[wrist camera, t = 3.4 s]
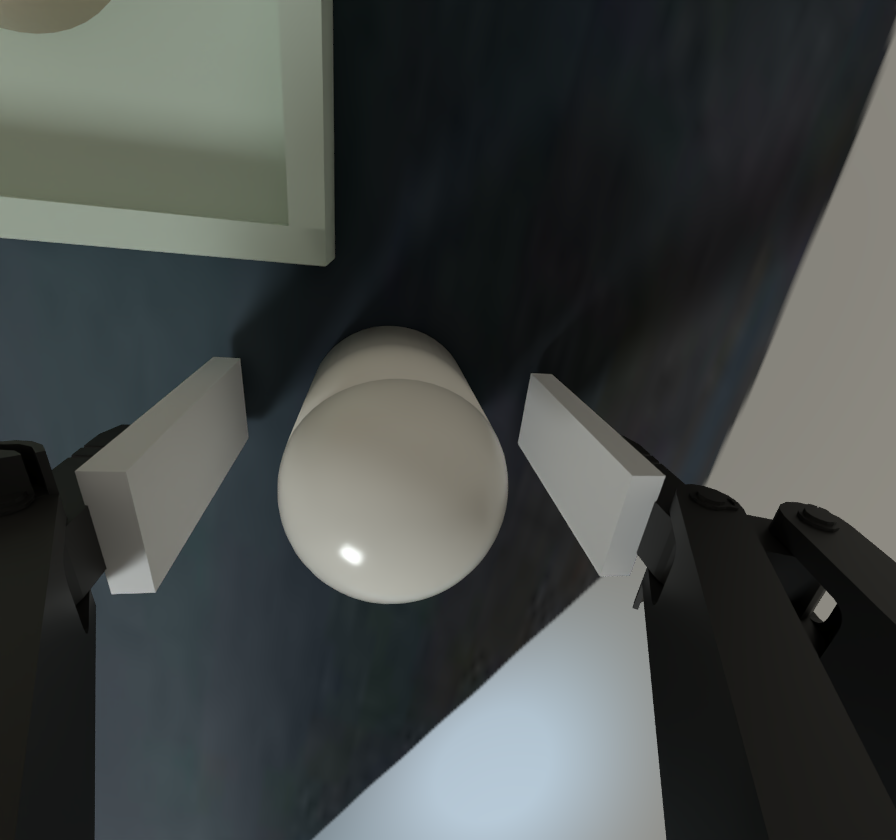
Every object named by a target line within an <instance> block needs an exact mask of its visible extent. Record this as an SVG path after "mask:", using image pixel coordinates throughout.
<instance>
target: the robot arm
mask: <svg viewBox="0 0 896 840" xmlns="http://www.w3.org/2000/svg"><path fill="white" fill-rule="evenodd" d="M247 439H248V428H247V418H246V409H245V399H244V389H243V380H242V370H241V360H240V358H225V357H213V358H212V359H210V360H209V361H208V362H207V363H205V364H204V365H203V366H202V367H201V368H199V369H198V370H197V371H196V372H195V373H193V374H192V375H191V376H190V377H189V378H187V379H186V380H185V381H184V382H182V383H181V384H180V385H179V386H178V387H176V388H175V389H174V390H173V391H172V392H170V393H169V394H168V395H167V396H165V397H164V398H163V399H162V400H161V401H159V402H158V403H157V404H156V405H155V406H153V407H152V408H151V409H150V410H148V411H147V412H146V413H145V414H144V415H142V416H141V417H140V418H139V419H138V420H136V421H135V422H134V423H133V424H131V425H119V426H117V427H115V428H112V429H110V430H108V431H105V432H103V433H101V434H99V435H97V436H96V437H95V438H93V439H92V440H91V441H89V442H88V443H87V444H86V445H84V448H80V449H79V450H78V451H76V452H75V453H74V454H72V457H71V458H67V459H66V460H65V461H63V462H62V463H61V464H59V465H58V466H57V467H55V468H54V469H53V470H51V467H50V464H49V461H48V458H47V455H46V452H45V449H44V447H43V445H41V444H38V443H36V442H33V441H19V440H13V441H1V442H0V840H94V833H95V658H96V605H95V602H94V598H93V595H92V592H91V588H92V586H93V585H94V584H95V583H96V581H97V580H98V579H99V578H100V576H101V575H102V574H103V572H104V571H105V574H106V577H107V580H108V584H109V587H110V590H111V594H128V593H155V592H156V591H157V589H158V587H159V586H160V584H161V582H162V581H163V579H164V577H165V576H166V574H167V572H168V571H169V569H170V567H171V566H172V564H173V562H174V561H175V559H176V558H177V556H178V554H179V553H180V551H181V549H182V548H183V546H184V544H185V543H186V541H187V539H188V538H189V536H190V534H191V533H192V531H193V529H194V528H195V526H196V524H197V523H198V521H199V519H200V518H201V516H202V514H203V513H204V511H205V509H206V508H207V506H208V504H209V503H210V501H211V499H212V498H213V496H214V494H215V493H216V491H217V489H218V488H219V486H220V484H221V483H222V481H223V479H224V478H225V476H226V474H227V473H228V471H229V469H230V468H231V466H232V464H233V463H234V461H235V459H236V458H237V456H238V454H239V453H240V451H241V449H242V448H243V446H244V444H245V443H246V441H247ZM518 444H519V446H520V448H521V449H522V451H523V453H524V454H525V456H526V457H527V459H528V461H529V462H530V464H531V466H532V467H533V469H534V470H535V472H536V474H537V475H538V477H539V478H540V480H541V482H542V483H543V485H544V487H545V488H546V490H547V491H548V493H549V495H550V496H551V498H552V500H553V501H554V503H555V504H556V506H557V508H558V509H559V511H560V512H561V514H562V516H563V517H564V519H565V521H566V522H567V524H568V525H569V527H570V529H571V530H572V532H573V534H574V535H575V537H576V538H577V540H578V542H579V543H580V545H581V546H582V548H583V550H584V551H585V553H586V555H587V556H588V558H589V559H590V561H591V563H592V564H593V566H594V568H595V569H596V571H597V572H598V574H599V576H600V577H602V576H630V574H631V571H632V568H633V566H634V563H635V560H636V557H637V555H638V556H639V557H640V558H641V560H642V561H643V562H644V564H645V565H646V566H647V569H646V572H645V574H644V577H643V580H642V582H641V585H640V588H639V590H638V593H637V596H636V598H635V601H634V605H633V608H634V609H638V608H639V605H640V603H641V602H643V601H644V609H645V620H646V631H647V640H648V652H649V662H650V672H651V683H652V693H653V704H654V714H655V725H656V735H657V746H658V756H659V767H660V777H661V787H662V798H663V808H664V819H665V830H666V840H896V562H894V561H893V560H892V559H891V558H890V557H888V556H887V555H886V554H885V553H884V552H882V551H881V550H880V549H879V548H877V547H876V546H875V545H874V544H873V543H872V542H870V541H869V540H868V539H867V538H865V537H864V536H863V535H862V534H861V533H859V532H858V531H857V530H856V529H854V528H853V527H852V526H851V525H849V524H848V523H846V522H845V521H844V520H842V519H840V518H839V517H837V516H835V515H833V514H831V513H830V512H829V511H827V510H826V509H823V508H820V507H819V508H817V506H814V505H811V504H802V503H798V502H785V503H783V504H780V506H779V509H778V510H777V512H776V514H775V516H774V518H773V520H772V519H766V518H761V517H756V516H751V515H746V513H745V511H744V509H743V508H742V507H741V506H740V504H739V503H738V502H736V501H735V500H734V499H732V498H731V497H729V496H728V495H726V494H723V493H721V492H719V491H717V490H715V489H711V488H708V487H705V486H700V485H694V484H687V485H685V484H684V483H683V482H682V481H681V480H680V479H678V478H677V477H676V476H675V475H674V474H673V473H671V472H670V471H669V470H668V469H667V468H666V467H665V466H663V465H662V464H659V461H658V460H656V459H655V458H654V457H653V456H650V453H648V452H647V451H646V450H645V449H644V448H643V447H641V446H640V445H639V444H637V443H635V442H634V441H632V440H630V439H628V438H626V437H624V436H620V435H619V434H618V433H617V432H616V431H615V430H614V429H613V428H611V427H610V426H609V425H608V424H607V423H606V422H605V421H604V420H603V419H601V418H600V417H599V416H598V415H597V414H596V413H595V412H594V411H592V410H591V409H590V408H589V407H588V406H587V405H586V404H585V403H584V402H582V401H581V400H580V399H579V398H578V397H577V396H576V395H575V394H573V393H572V392H571V391H570V390H569V389H568V388H567V387H566V386H565V385H563V384H562V383H561V382H560V381H559V380H558V379H557V378H556V377H554V376H553V375H552V374H539V373H531V376H530V381H529V387H528V392H527V397H526V403H525V408H524V413H523V419H522V424H521V429H520V435H519V440H518ZM825 591H827V592H828V593H829V594H830V595H831V596H832V597H833V598H834V599H835V601H836V602H837V605H836V606H835V608H834V609H833V611H832V613H831V614H830V616H829V617H828V619H827V620H826V621H824V622H823V621H822V620H820V619H819V618H818V617H817V615H816V614H815V613H814V612H813V611H814V609H815V607H816V606H817V604H818V603H819V601H820V599H821V598H822V596H823V595H824V593H825Z"/></svg>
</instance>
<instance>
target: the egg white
mask: <svg viewBox="0 0 896 840" xmlns="http://www.w3.org/2000/svg"><path fill="white" fill-rule="evenodd" d="M507 495H508V475H507V467H506V462H505V457H504V454H503V451H502V448H501V445H500V443H499V440H498V438H497V435H496V434H495V432H494V430H493V428H492V426H491V425H490V423H489V421H488V419H487V417H486V415H485V414H484V412H483V410H482V408H481V406H480V404H479V403H478V401H477V399H476V397H475V395H474V394H473V392H472V390H471V388H470V386H469V384H468V383H467V381H466V379H465V377H464V375H463V373H462V372H461V370H460V368H459V366H458V364H457V363H456V361H455V359H454V358H453V357H452V355H451V354H450V353H449V352H448V351H447V350H446V349H445V348H444V347H443V346H442V345H441V344H440V343H438V342H437V341H436V340H435V339H433V338H431V337H429V336H428V335H426V334H424V333H421V332H419V331H416V330H413V329H409V328H406V327H398V326H380V327H372V328H369V329H365V330H361V331H359V332H357V333H354V334H352V335H350V336H349V337H347V338H345V339H343V340H342V341H341V342H339V343H338V344H337V345H336V346H334V347H333V348H332V350H331V351H330V352H329V353H328V354H327V355H326V356H325V358H324V359H323V361H322V362H321V364H320V366H319V368H318V370H317V372H316V374H315V377H314V379H313V381H312V384H311V386H310V389H309V391H308V394H307V396H306V398H305V401H304V403H303V406H302V408H301V411H300V413H299V416H298V418H297V420H296V423H295V425H294V428H293V430H292V433H291V435H290V437H289V440H288V442H287V445H286V448H285V451H284V454H283V457H282V460H281V464H280V469H279V475H278V505H279V512H280V516H281V520H282V524H283V527H284V530H285V533H286V535H287V537H288V539H289V541H290V543H291V545H292V547H293V549H294V550H295V552H296V554H297V555H298V556H299V558H300V559H301V561H302V562H303V563H304V564H305V565H306V566H307V567H308V568H309V569H310V570H311V571H312V572H313V573H314V574H315V575H316V576H317V577H318V578H319V579H320V580H322V581H323V582H324V583H325V584H327V585H329V586H330V587H332V588H334V589H335V590H337V591H339V592H341V593H343V594H346V595H348V596H350V597H353V598H356V599H359V600H362V601H367V602H372V603H382V604H398V603H408V602H413V601H418V600H422V599H425V598H429V597H431V596H434V595H436V594H439V593H441V592H443V591H445V590H447V589H449V588H450V587H452V586H453V585H455V584H456V583H458V582H459V581H460V580H462V579H463V578H464V577H465V576H466V575H468V574H469V573H470V572H471V571H472V570H473V569H474V568H475V567H476V566H477V565H478V564H479V563H480V562H481V560H482V559H483V558H484V556H485V555H486V554H487V552H488V551H489V549H490V547H491V546H492V544H493V542H494V541H495V539H496V537H497V534H498V532H499V530H500V527H501V524H502V521H503V518H504V514H505V510H506V504H507Z"/></svg>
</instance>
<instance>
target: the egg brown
mask: <svg viewBox="0 0 896 840" xmlns="http://www.w3.org/2000/svg"><path fill="white" fill-rule="evenodd" d="M110 1H111V0H0V28H3V29H8V30H12V31H16V32H24V33H35V34H42V33H55V32H60V31H64V30H68V29H72V28H74V27H76V26H78V25H81V24H83V23H85V22H87V21H88V20H90V19H91V18H92V17H94V16H95V15H97V14H98V13H99V12H100V11H101V10H102V9H103V8H104V7H105V6H106V5H107V4H108V3H109V2H110Z"/></svg>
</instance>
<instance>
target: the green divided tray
mask: <svg viewBox="0 0 896 840" xmlns="http://www.w3.org/2000/svg"><path fill="white" fill-rule="evenodd" d="M0 238H10V239H22V240H33V241H44V242H56V243H67V244H78V245H90V246H101V247H112V248H124V249H135V250H146V251H158V252H169V253H180V254H192V255H203V256H214V257H225V258H237V259H248V260H259V261H271V262H282V263H293V264H305V265H316V266H327V265H328V264H329V263H330V262H331V261H333V260H334V259H335V199H334V86H333V0H111V1H110V2H109V3H108V4H107V5H106V6H105V7H104V8H103V9H102V10H101V11H100V12H99V13H98V14H97V15H95V16H94V17H92V18H91V19H90V20H88V21H87V22H85V23H83V24H81V25H78V26H76V27H74V28H72V29H68V30H64V31H60V32H55V33H42V34H35V33H24V32H16V31H12V30H8V29H3V28H0Z"/></svg>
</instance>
